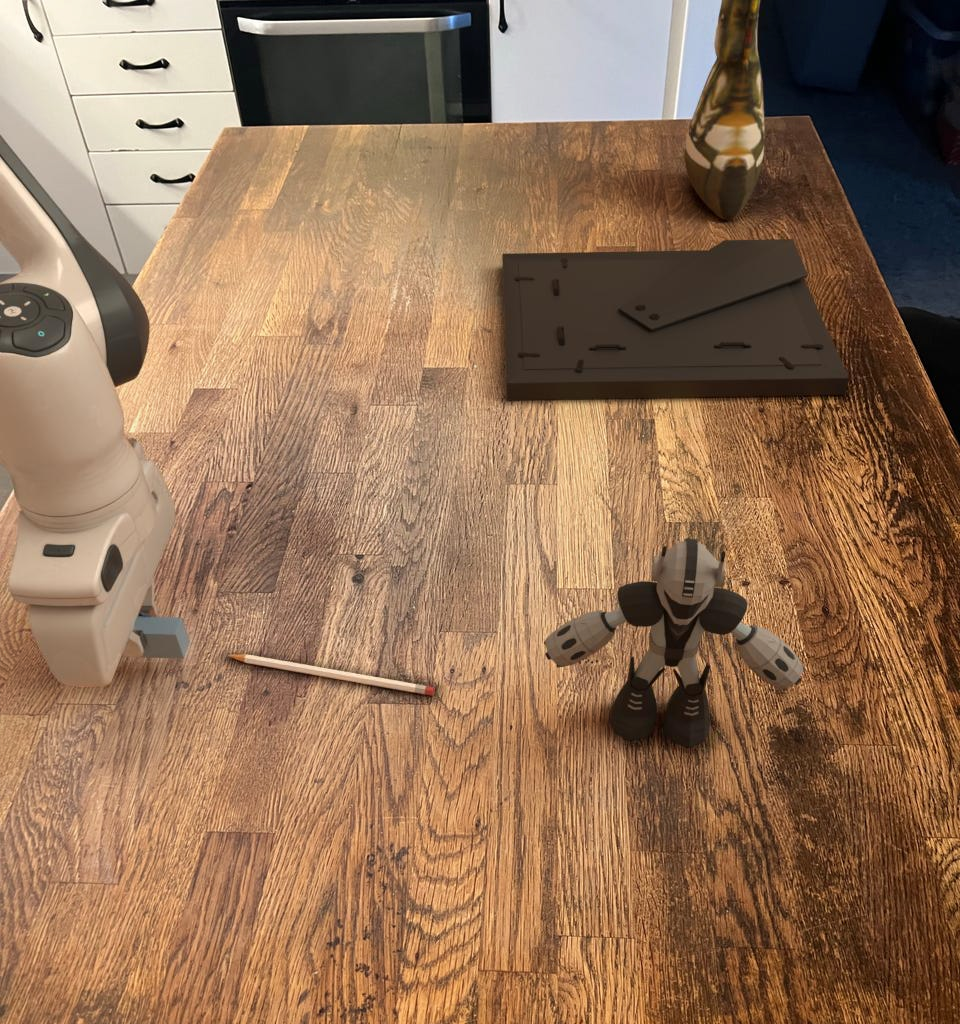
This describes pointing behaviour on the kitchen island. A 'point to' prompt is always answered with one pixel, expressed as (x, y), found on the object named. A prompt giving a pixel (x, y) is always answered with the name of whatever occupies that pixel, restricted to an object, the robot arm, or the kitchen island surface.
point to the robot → (675, 642)
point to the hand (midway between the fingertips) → (141, 636)
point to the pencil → (335, 674)
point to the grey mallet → (163, 636)
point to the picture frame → (666, 325)
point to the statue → (729, 116)
